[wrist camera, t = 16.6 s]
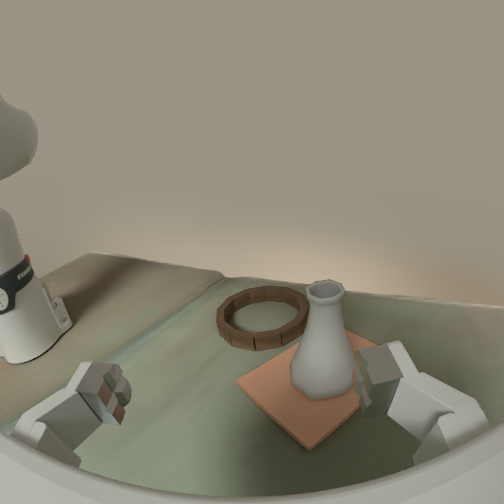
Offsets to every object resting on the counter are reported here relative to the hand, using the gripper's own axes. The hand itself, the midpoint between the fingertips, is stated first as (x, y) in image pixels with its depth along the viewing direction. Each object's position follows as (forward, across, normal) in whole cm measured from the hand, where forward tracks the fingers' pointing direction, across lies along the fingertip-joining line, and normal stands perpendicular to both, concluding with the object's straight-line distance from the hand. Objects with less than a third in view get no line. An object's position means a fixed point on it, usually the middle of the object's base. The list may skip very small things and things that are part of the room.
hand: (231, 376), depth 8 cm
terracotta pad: (+13, -6, +16) cm, 21 cm away
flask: (+13, -6, +15) cm, 21 cm away
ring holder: (+24, 0, +16) cm, 29 cm away
